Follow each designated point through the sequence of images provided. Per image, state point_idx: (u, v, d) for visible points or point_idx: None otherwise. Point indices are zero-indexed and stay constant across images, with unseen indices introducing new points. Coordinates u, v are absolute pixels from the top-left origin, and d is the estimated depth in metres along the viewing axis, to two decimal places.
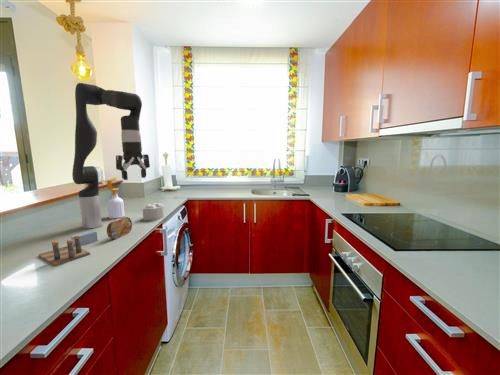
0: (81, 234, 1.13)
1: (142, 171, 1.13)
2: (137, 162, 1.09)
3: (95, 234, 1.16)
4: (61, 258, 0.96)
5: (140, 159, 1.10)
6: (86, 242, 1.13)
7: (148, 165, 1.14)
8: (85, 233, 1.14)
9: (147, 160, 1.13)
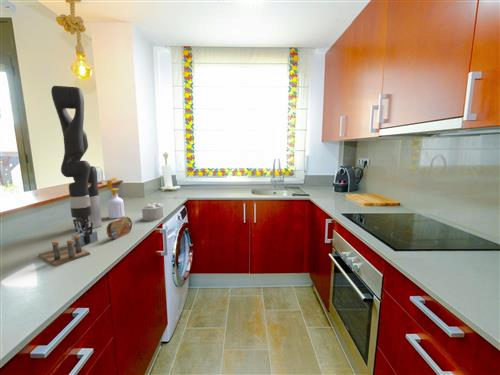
0: (81, 234, 1.13)
1: None
2: None
3: (95, 234, 1.16)
4: (61, 258, 0.96)
5: None
6: None
7: None
8: None
9: None
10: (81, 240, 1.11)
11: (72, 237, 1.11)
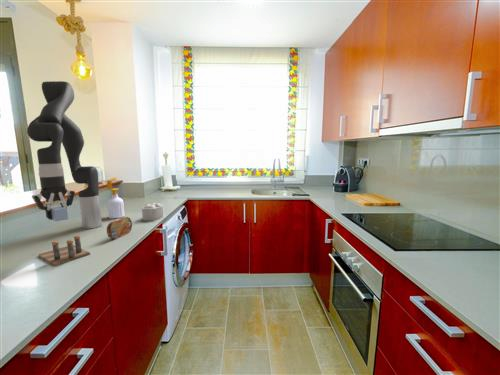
0: (57, 207, 0.99)
1: None
2: None
3: None
4: (61, 258, 0.96)
5: None
6: None
7: None
8: (55, 207, 1.00)
9: None
10: None
11: (58, 211, 0.97)
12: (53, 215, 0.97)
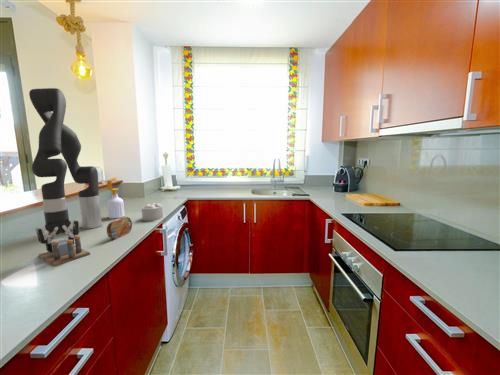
0: (61, 241, 1.01)
1: None
2: None
3: None
4: (61, 258, 0.96)
5: None
6: None
7: None
8: (60, 241, 1.02)
9: None
10: None
11: (63, 245, 0.99)
12: None
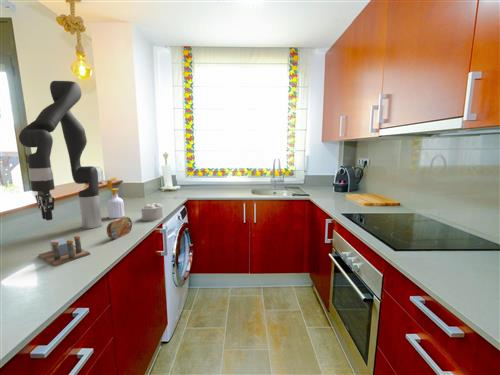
0: (61, 241, 1.01)
1: None
2: None
3: None
4: (61, 258, 0.96)
5: None
6: None
7: None
8: (60, 241, 1.02)
9: None
10: None
11: (63, 245, 0.99)
12: None
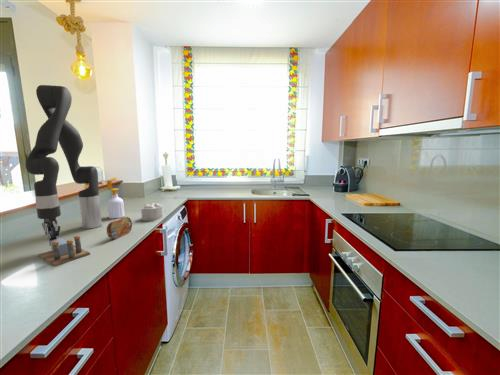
0: (61, 241, 1.01)
1: None
2: None
3: None
4: (61, 258, 0.96)
5: None
6: None
7: None
8: (60, 241, 1.02)
9: None
10: None
11: (63, 245, 0.99)
12: None
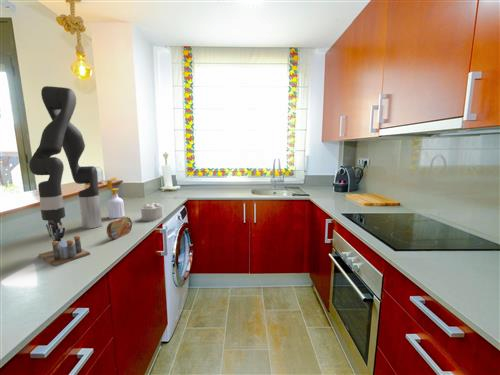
0: (66, 243, 0.99)
1: None
2: None
3: None
4: (61, 258, 0.96)
5: None
6: None
7: None
8: (64, 242, 1.00)
9: None
10: None
11: (67, 247, 0.97)
12: (62, 252, 0.97)
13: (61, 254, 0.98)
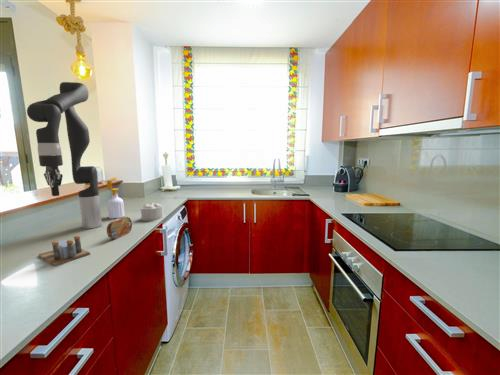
0: (66, 243, 0.99)
1: None
2: None
3: None
4: (61, 258, 0.96)
5: None
6: None
7: None
8: (64, 242, 1.00)
9: None
10: None
11: (67, 247, 0.97)
12: (62, 252, 0.97)
13: (61, 254, 0.98)
